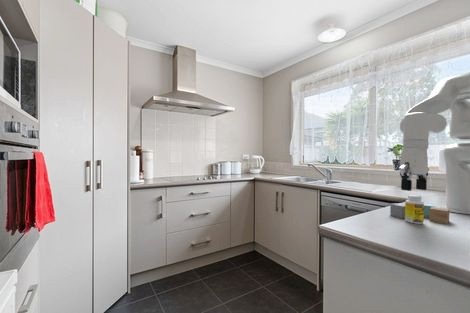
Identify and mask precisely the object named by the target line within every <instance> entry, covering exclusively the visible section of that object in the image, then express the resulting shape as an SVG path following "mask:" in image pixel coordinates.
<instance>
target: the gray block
mask: <svg viewBox="0 0 470 313" xmlns="http://www.w3.org/2000/svg"><path fill="white" fill-rule="evenodd" d="M389 207H390V209H389V210H390V214H389V215H390V216H392V215H393V217H395V216H396V217H395V218H399V219H405V203H401V202H399V203H397V202H395V203H390V206H389Z"/></svg>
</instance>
